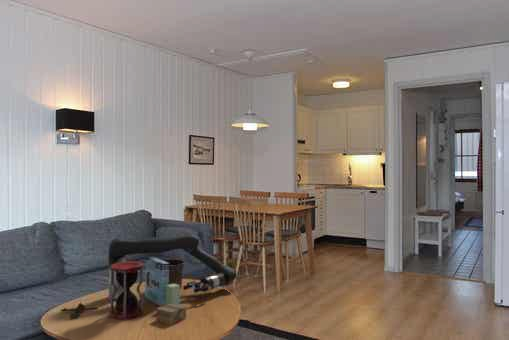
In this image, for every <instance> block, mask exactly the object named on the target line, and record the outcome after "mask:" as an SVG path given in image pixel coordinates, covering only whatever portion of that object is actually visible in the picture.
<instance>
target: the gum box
mask: <svg viewBox="0 0 509 340" xmlns="http://www.w3.org/2000/svg"><path fill="white" fill-rule="evenodd" d="M144 279H145V281H144V282H145V285H144V287H145V288H144V290H145V291H144V297H145V298H146V299H147V300H149V301H151V302H153V303H154V304H155V305H158V306H159V307H162V306H164V305H166V286H167V285H169V263H167V262H165V261H162V259H160V258H157V257H155V256H148V257H146V258H145V278H144Z"/></svg>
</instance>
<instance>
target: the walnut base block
mask: <svg viewBox="0 0 509 340" xmlns="http://www.w3.org/2000/svg"><path fill="white" fill-rule="evenodd" d="M186 319H187V306H186V305H181V304H180V305H178V304H174V303H170V304H167V305H164V306H159V307H157V308H156V321H158V322H161V323H164V324H168V325H173V324H176V323H178V322H181V321H182V320H183V321H184V320H186Z"/></svg>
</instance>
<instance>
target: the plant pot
mask: <svg viewBox="0 0 509 340" xmlns="http://www.w3.org/2000/svg"><path fill="white" fill-rule="evenodd" d="M161 260H162V259H161ZM162 261H165V262H167V263H169V285H170V284H177V285H180V289H181V288H182V285H183V275H184V274H183V273H184V272H183V271H184V266H185V263H186V261H185V260H183V259H177V258H171V259H164V260H162Z"/></svg>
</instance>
